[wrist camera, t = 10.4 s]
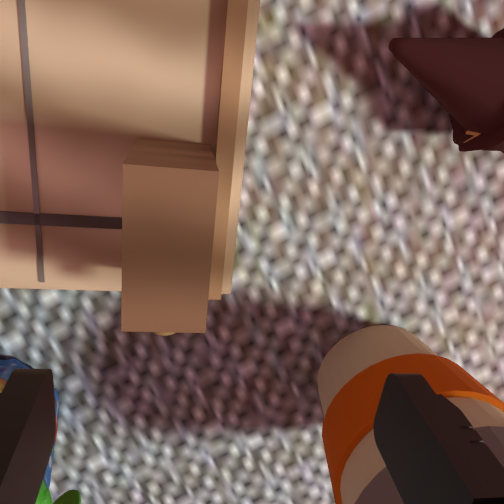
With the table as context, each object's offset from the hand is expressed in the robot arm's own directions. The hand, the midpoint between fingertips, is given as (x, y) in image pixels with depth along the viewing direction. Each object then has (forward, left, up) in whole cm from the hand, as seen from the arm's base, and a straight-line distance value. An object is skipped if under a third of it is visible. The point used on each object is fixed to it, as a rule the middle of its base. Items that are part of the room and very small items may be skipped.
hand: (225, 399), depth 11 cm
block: (+1, -2, -18) cm, 18 cm away
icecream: (-7, +16, -20) cm, 26 cm away
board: (-4, -5, -19) cm, 20 cm away
